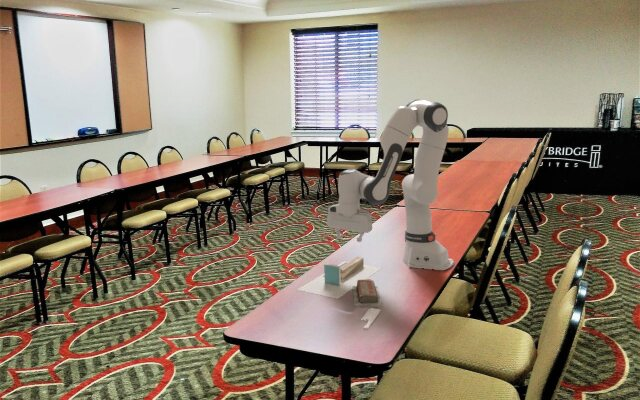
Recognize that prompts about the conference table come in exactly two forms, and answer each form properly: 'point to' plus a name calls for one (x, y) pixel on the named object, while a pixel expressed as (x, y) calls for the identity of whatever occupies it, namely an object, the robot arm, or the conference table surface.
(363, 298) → the packaged product
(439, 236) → the conference table surface
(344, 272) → the long tan strip
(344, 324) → the conference table surface
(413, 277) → the conference table surface
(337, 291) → the mat
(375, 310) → the white notched flat strip
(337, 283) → the tile
